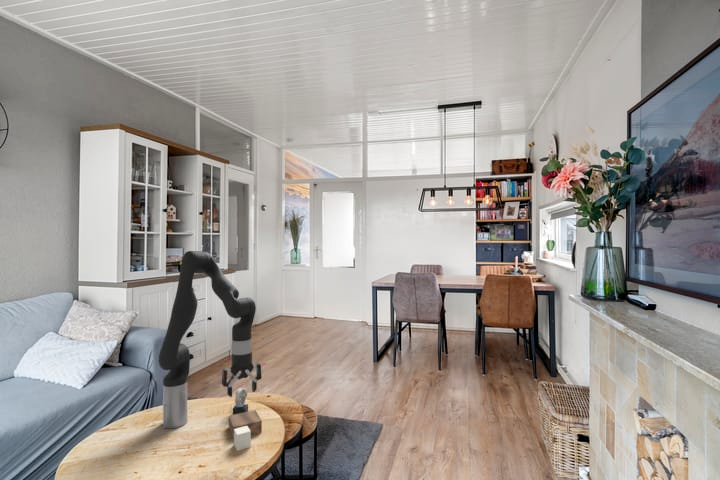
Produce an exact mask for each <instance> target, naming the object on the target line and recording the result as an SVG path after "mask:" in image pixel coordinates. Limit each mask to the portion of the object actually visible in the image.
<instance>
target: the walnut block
mask: <svg viewBox="0 0 720 480" xmlns="http://www.w3.org/2000/svg"><path fill="white" fill-rule="evenodd" d="M262 423H263V422H262V419H261V417H260V415H259V414H258V411H257V410H256V409H253V410H250V411H249V410H248V412H244V413H239V414H235V415H233V414H231V415H228V427H229V432H230V433H231V437H232V439H233V440H234V429H236V428H240V427H244V426H248V428H249V429H250V431H251V436H252V435H255V434H260V433H262V431H263V430H262V428H263V427H262V425H263V424H262Z"/></svg>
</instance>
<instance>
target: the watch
mask: <svg viewBox="0 0 720 480" xmlns="http://www.w3.org/2000/svg"><path fill="white" fill-rule="evenodd" d="M248 393H249V391H248V389H247V388H245V387H239V388H237V390H236V391H235V399H234V400H235V401H234V403H235V405H234V406H233V407H232V415H235V414H239V413H244V412H249V404H248V403H247V404H245V403H246V399H247V396H248Z"/></svg>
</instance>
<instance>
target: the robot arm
mask: <svg viewBox="0 0 720 480" xmlns="http://www.w3.org/2000/svg"><path fill="white" fill-rule="evenodd" d="M195 274H205V275H206V276H208V277H209V278H210V279H211V281H210V283H211V289H212V291H213V292H214V294H215V295H216V296H217V298H218V299H219V300H220V301H221V302H222V304H223V306H224V309H225V311H226V314H227V315H228V316H229V317H231V318H233V319H239V321H238V322H236V323H235V324H233V325H232V328H231V345H230V346H231V349H230V350H231V353H230V354H231V367H230V368H223V369H222V375H221V385H222V386H223V387H224V388H225V387H226V388H227V391H226V393H227V396H229V398H232V397H233V384H235V382H236V381H237V380H241V379H248V377H249V378H250V379H251V392H253V393H255V392H256V391H257V388H258V386H257V382H258V381H259V380H260V381H261V380H262V365H261V364H260V362H256V363H254V364H253V342H252V340H253V339H252V327H253V323H254V319H255V316H256V315H255V314H256V312H257V311H256V310H257V307H256V302H255V301H254V299H253V298H252V297H243V298H239V296H240V292H239V290H238V289H237V288H236V286H234V284H232V282H230V280H229V279H228V278H227V277H226V276H225V274H224V273H223V271H222V270H221V267H220V266H219V265H218V263H217V262H216V260H215V259H214V257H213V256H212V254H210V253H209V252H207V251H201V250H188V251H186V252H185V253H184V254H183V255H182V259H181V262H180V268H179V277H178V283H177V289H176V292H175V293H176V294H175V298H174V301H173V305H172V309H171V313H170V319H169V323H168V327H167V328H166V329H167V330H166V333H165V337H164V340H163V343H162V345H161V348H160V351H159V354H158V365H159V366H160V368H161V370H164V371H169V372H168V373H167V374H166V375H165V376H164V377H163V381H162V388H163V389H162V393H163V394H162V397H163V398H162V426H163V430H166V429H175V428H179V427H181V426H184V425H186V424H187V423H188V377H189V375H190V364H191V355H190V354H191V353H190V349H189V347H188V346H187V345H186V344H184V343H181V342H182V339H183V337H184V336H185V334H186V332H187V331H188V330H189V329H190V327H191V325H192V324H193V322H194V319H195V317H196V314H197V310H198V309H197V308H198V298H197V296H196V293H195V291H194V288H193V279H194V276H195ZM253 370H255V371H256V372H255V373H256V376H254V375H253V374H252V371H253ZM230 373H231V376H230V377H229V380H228V381H227V379H228V376H229V374H230Z"/></svg>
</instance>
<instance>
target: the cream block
mask: <svg viewBox="0 0 720 480" xmlns="http://www.w3.org/2000/svg"><path fill="white" fill-rule="evenodd" d="M251 438H252V435H251V431H250V429H249V428H248V426H244V427H240V428H236V429H234V439H233V445H234V448H235V451H237V452H238V451H242V450H245V449H249V448H251V446H252V444H251V443H252V441H251V440H252V439H251Z"/></svg>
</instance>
